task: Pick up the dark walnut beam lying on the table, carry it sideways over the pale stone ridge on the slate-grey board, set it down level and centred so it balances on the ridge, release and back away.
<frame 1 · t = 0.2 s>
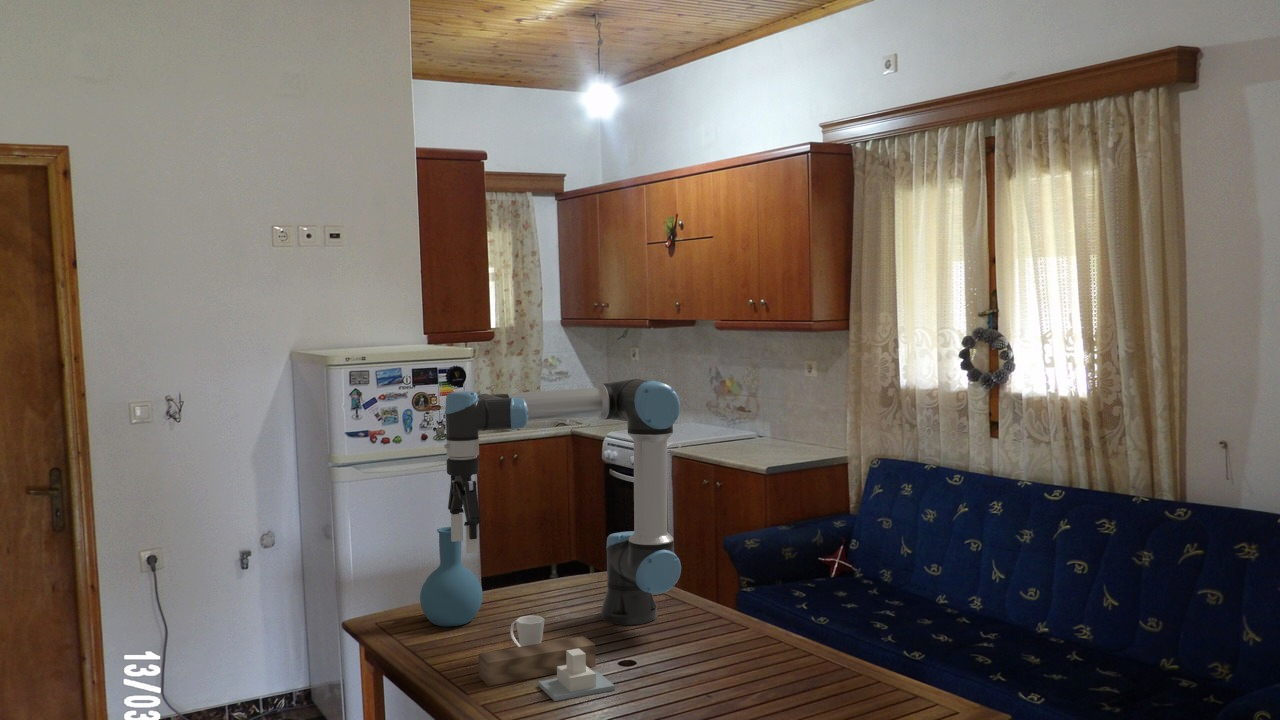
hand: (464, 546, 240), 27 cm above the table, fingers open, 13 cm apart
beam: (537, 672, 234), on the table
cup: (526, 651, 248), on the table
vase: (452, 621, 273), on the table
fulcrum: (576, 687, 223), on the table
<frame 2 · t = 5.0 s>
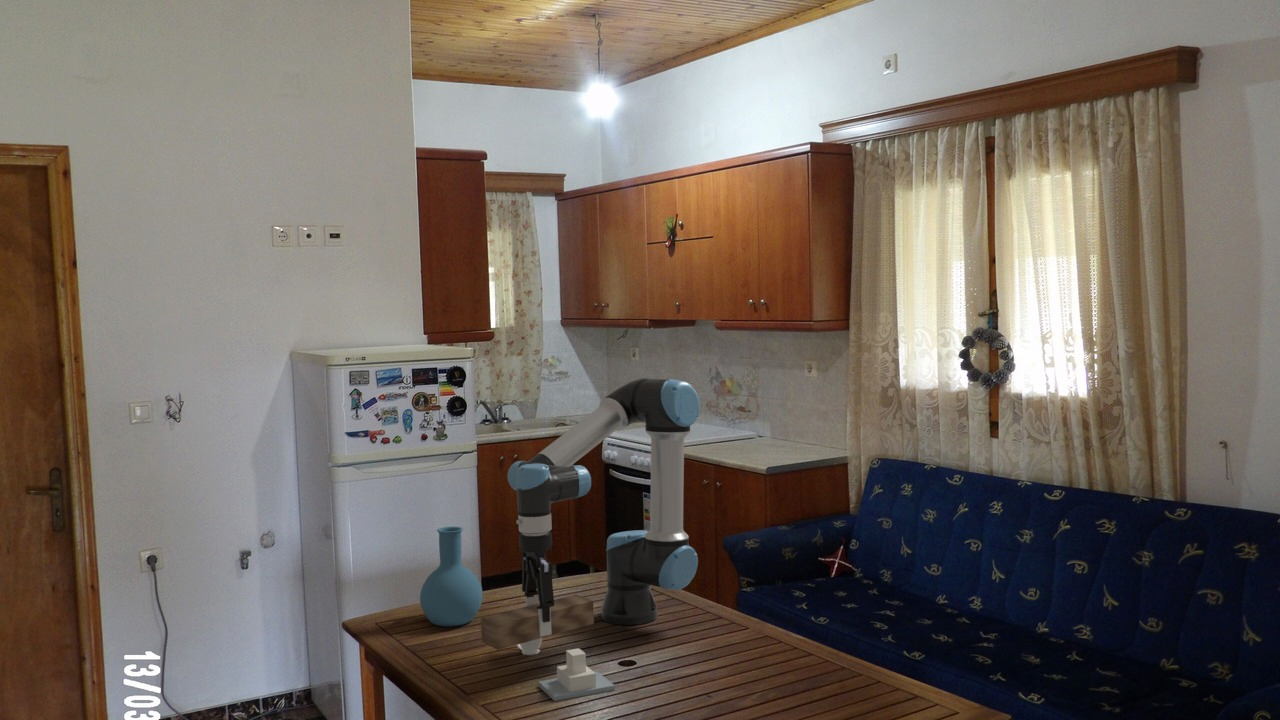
hand: (539, 629, 233), 10 cm above the table, fingers closed on beam, 8 cm apart
beam: (539, 632, 234), point 9 cm above the table, touching gripper
everything else where it was.
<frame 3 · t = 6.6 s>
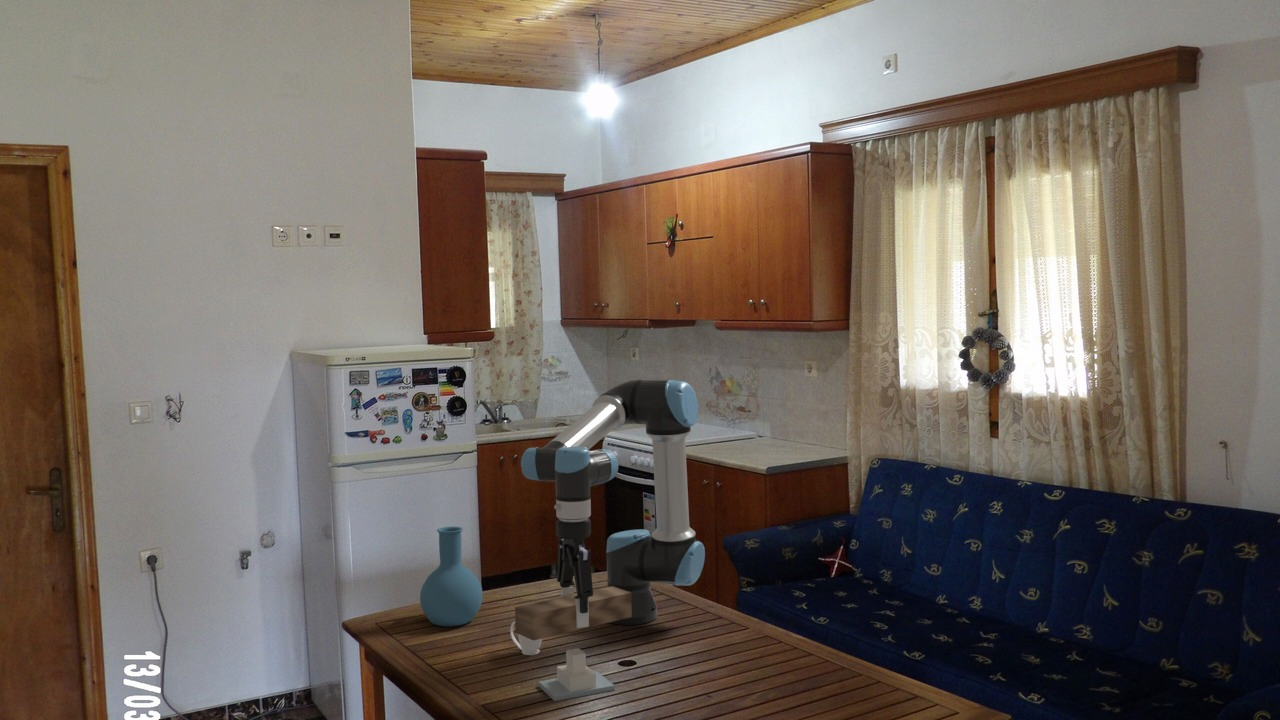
hand: (575, 621, 222), 15 cm above the table, fingers closed on beam, 8 cm apart
beam: (574, 624, 222), point 14 cm above the table, touching gripper
everything else where it was.
when the fingers open (8 cm above the table, at t = 8.5 s): beam stays where it is, resting on fulcrum.
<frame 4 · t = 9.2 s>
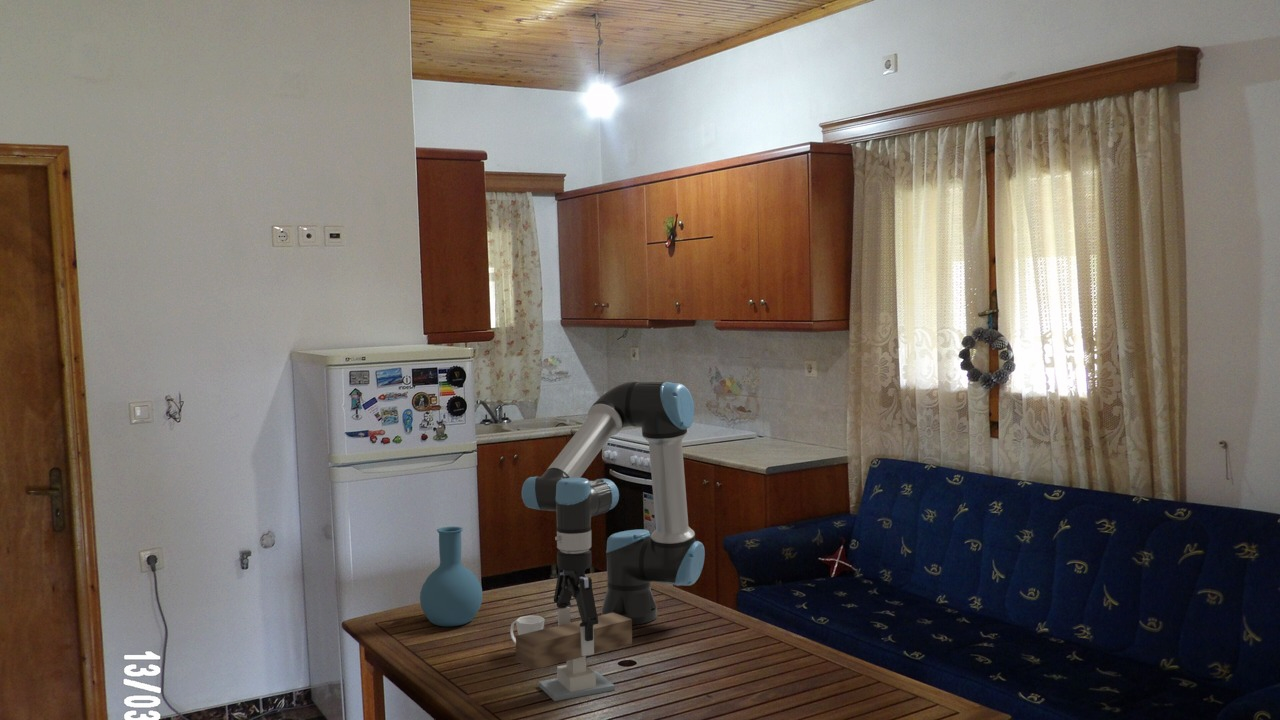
hand: (575, 645, 222), 9 cm above the table, fingers open, 13 cm apart
beam: (575, 652, 222), point 8 cm above the table, touching fulcrum
everything else where it was.
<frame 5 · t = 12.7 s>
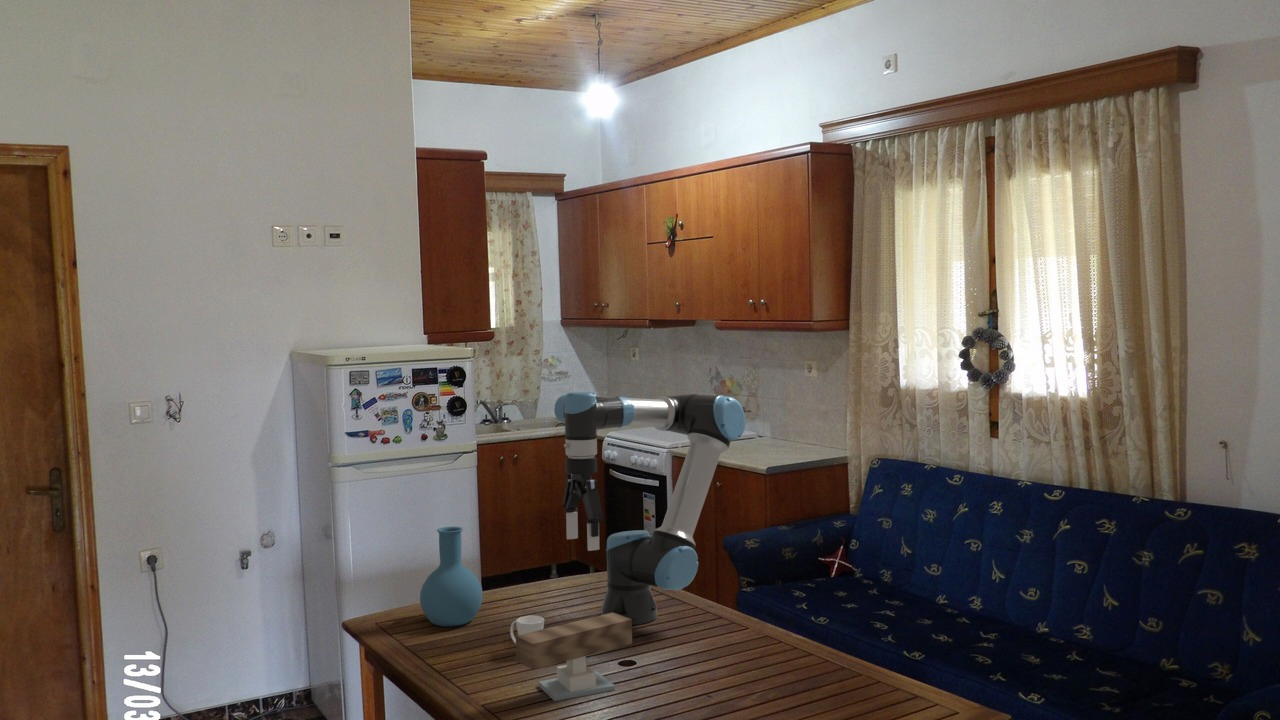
hand: (582, 544, 244), 27 cm above the table, fingers open, 13 cm apart
nothing on the table moved.
at the end: beam 0.1 cm off-centre on the fulcrum, point 8.0 cm above the fulcrum's base; beam tilted 0°; the gripper is holding nothing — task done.
